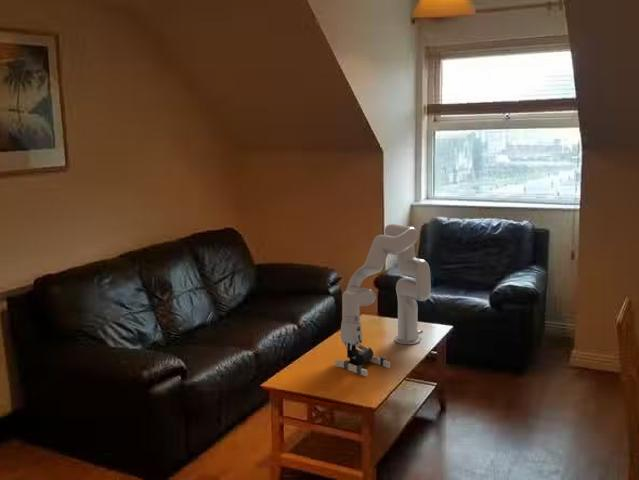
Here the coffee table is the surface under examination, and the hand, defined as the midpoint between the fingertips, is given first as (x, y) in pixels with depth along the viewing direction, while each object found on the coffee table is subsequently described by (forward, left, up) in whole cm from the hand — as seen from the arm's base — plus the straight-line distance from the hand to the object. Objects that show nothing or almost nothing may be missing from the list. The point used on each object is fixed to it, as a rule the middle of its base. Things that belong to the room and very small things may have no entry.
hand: (351, 357), depth 303 cm
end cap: (-1, +4, -2) cm, 5 cm away
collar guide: (0, +7, -2) cm, 8 cm away
